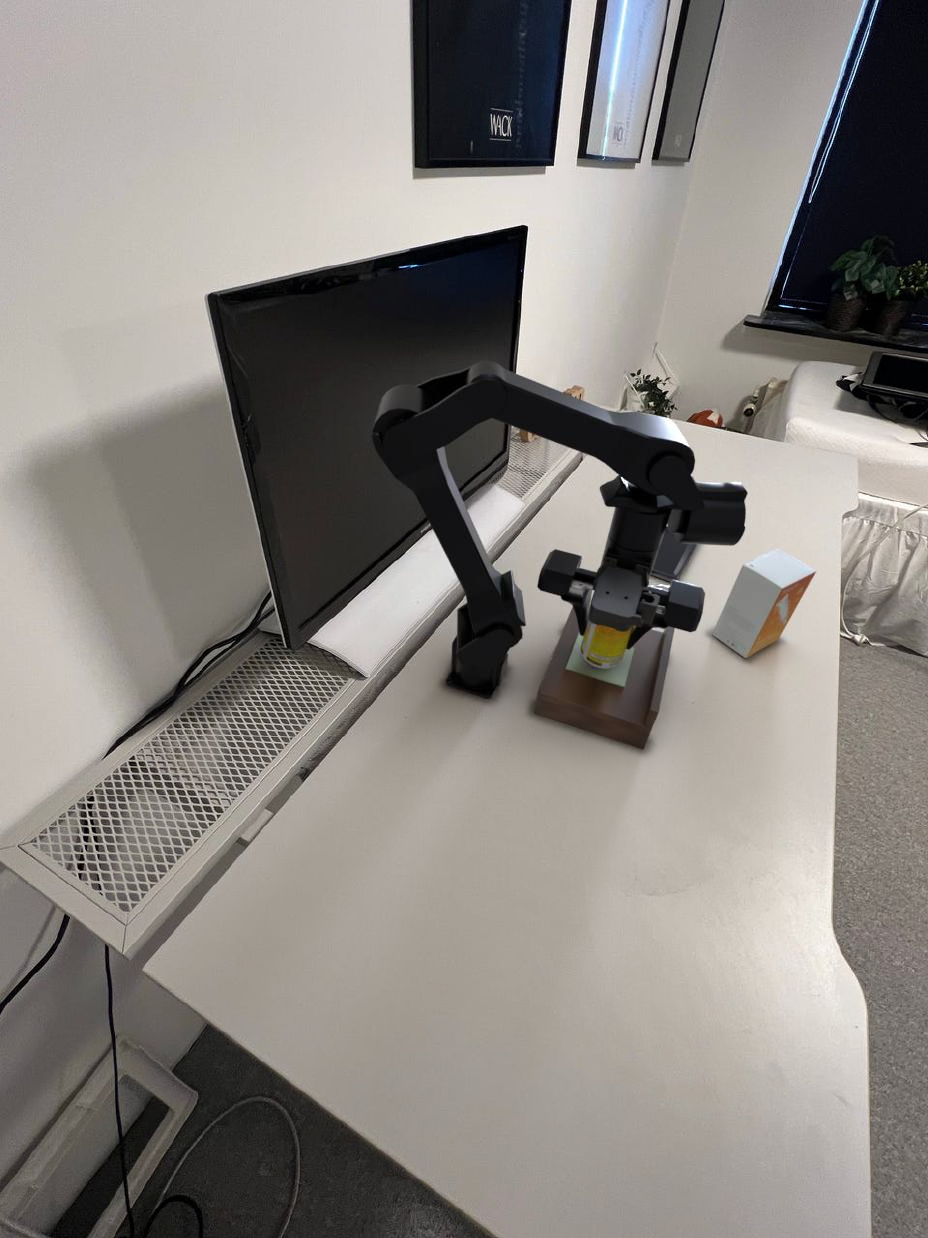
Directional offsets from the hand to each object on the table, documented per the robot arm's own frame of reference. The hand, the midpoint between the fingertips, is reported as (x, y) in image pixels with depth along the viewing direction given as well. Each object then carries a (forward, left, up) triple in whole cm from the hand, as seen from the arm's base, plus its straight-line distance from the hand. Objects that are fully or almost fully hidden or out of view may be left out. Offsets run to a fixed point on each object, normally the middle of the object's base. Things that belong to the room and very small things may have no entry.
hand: (605, 640), depth 76 cm
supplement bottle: (0, 0, -3) cm, 3 cm away
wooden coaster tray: (+1, 0, -7) cm, 7 cm away
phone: (+5, +35, -7) cm, 36 cm away
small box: (+19, +18, -8) cm, 27 cm away
